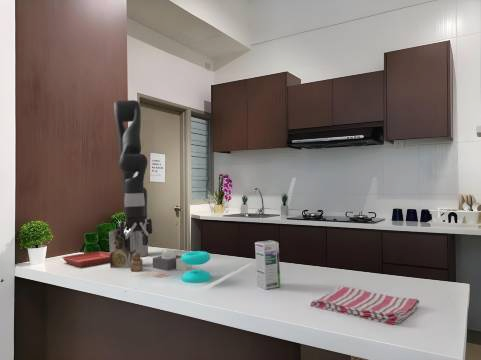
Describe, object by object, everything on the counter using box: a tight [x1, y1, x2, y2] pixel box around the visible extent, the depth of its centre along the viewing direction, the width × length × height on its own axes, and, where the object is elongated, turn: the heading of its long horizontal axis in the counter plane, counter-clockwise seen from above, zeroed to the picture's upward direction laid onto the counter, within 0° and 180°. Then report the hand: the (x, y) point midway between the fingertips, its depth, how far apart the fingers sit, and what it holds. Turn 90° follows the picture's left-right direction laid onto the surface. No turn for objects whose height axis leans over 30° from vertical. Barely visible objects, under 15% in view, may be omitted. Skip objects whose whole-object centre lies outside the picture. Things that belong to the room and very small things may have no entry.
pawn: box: [130, 253, 144, 273], centre depth 143 cm, size 4×4×7 cm
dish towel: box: [310, 285, 420, 326], centre depth 98 cm, size 17×23×4 cm
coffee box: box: [108, 228, 136, 269], centre depth 152 cm, size 9×6×16 cm
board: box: [129, 254, 182, 279], centre depth 143 cm, size 20×22×5 cm
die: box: [175, 258, 192, 271], centre depth 144 cm, size 4×4×4 cm
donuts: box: [181, 250, 212, 284], centre depth 128 cm, size 10×10×10 cm
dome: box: [161, 248, 177, 259], centre depth 148 cm, size 6×6×6 cm
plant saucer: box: [61, 251, 110, 268], centre depth 167 cm, size 18×18×3 cm
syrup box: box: [254, 240, 281, 290], centre depth 120 cm, size 6×6×14 cm
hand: (135, 246), depth 143 cm, fingers open, 8 cm apart
